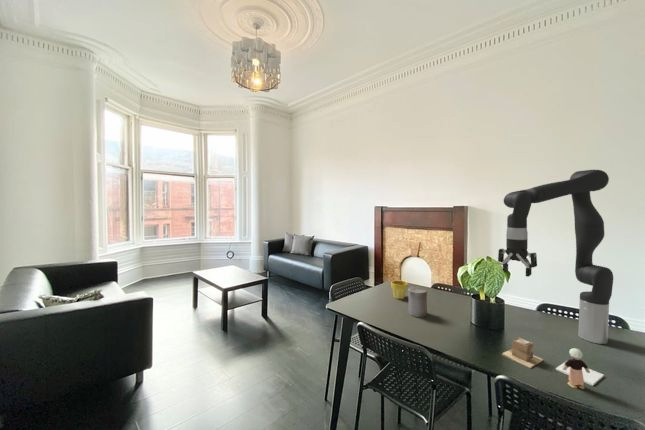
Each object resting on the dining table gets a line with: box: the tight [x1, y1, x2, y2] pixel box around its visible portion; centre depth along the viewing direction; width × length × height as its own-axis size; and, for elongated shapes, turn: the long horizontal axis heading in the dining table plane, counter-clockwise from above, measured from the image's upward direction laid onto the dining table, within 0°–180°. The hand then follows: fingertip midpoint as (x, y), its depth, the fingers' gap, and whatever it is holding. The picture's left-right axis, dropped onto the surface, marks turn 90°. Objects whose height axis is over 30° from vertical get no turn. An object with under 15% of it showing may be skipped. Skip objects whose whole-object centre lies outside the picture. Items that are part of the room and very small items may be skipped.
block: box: [511, 337, 534, 362], centre depth 107 cm, size 5×5×6 cm
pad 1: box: [501, 348, 544, 369], centre depth 107 cm, size 10×10×1 cm
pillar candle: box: [407, 286, 428, 318], centre depth 149 cm, size 10×10×15 cm
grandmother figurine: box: [563, 347, 590, 390], centre depth 90 cm, size 8×4×13 cm, turn 92°
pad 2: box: [555, 359, 605, 387], centre depth 97 cm, size 10×10×1 cm
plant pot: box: [390, 279, 409, 300], centre depth 175 cm, size 10×10×10 cm
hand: (516, 274), depth 119 cm, fingers open, 8 cm apart
